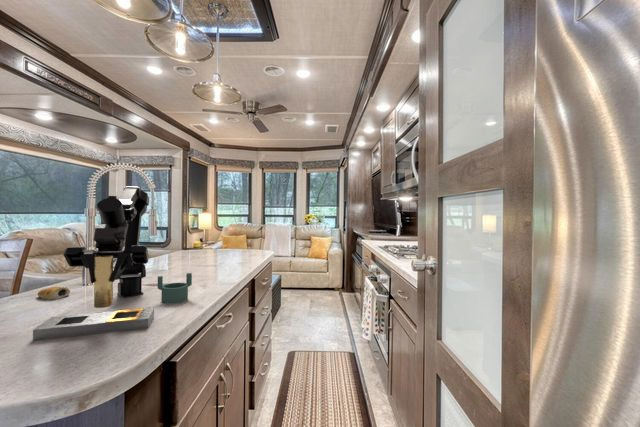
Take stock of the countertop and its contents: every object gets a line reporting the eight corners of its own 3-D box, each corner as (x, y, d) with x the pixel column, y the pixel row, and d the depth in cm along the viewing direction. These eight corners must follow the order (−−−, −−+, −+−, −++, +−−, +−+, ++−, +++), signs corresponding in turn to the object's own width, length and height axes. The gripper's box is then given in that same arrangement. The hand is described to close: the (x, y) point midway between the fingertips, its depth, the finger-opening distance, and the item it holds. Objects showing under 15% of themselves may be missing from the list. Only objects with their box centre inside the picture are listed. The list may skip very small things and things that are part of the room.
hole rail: (32, 340, 70) (32, 329, 70) (51, 326, 79) (51, 316, 78) (148, 328, 79) (148, 317, 78) (154, 316, 87) (154, 307, 87)
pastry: (30, 299, 102) (30, 288, 102) (51, 293, 108) (51, 283, 108) (53, 300, 100) (53, 289, 100) (73, 295, 107) (73, 284, 107)
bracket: (193, 297, 107) (193, 272, 107) (175, 305, 98) (175, 278, 98) (172, 295, 109) (172, 271, 109) (152, 302, 100) (153, 276, 100)
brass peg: (106, 302, 81) (107, 254, 81) (116, 304, 79) (116, 256, 79) (90, 306, 77) (91, 256, 77) (99, 308, 76) (100, 258, 76)
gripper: (66, 216, 78) (46, 265, 68) (147, 217, 85) (139, 262, 75) (78, 243, 86) (60, 291, 76) (151, 241, 93) (144, 285, 82)
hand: (102, 281), depth 77 cm, fingers closed on brass peg, 4 cm apart
